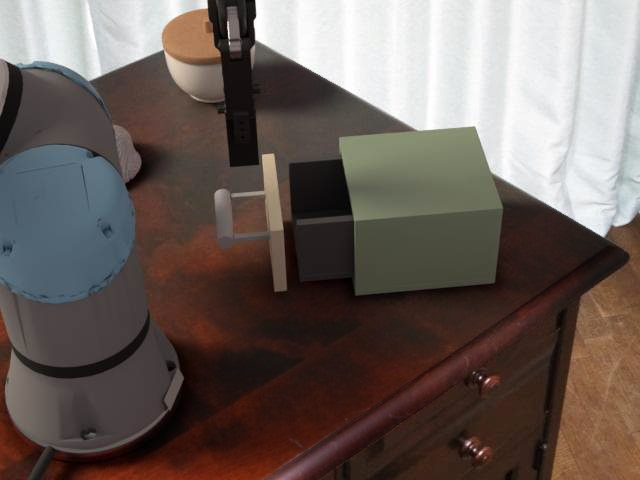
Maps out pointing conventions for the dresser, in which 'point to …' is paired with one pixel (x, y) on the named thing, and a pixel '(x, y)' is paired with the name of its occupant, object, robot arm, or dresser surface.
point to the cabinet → (421, 210)
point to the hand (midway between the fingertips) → (244, 160)
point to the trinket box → (195, 56)
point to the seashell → (127, 154)
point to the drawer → (300, 219)
